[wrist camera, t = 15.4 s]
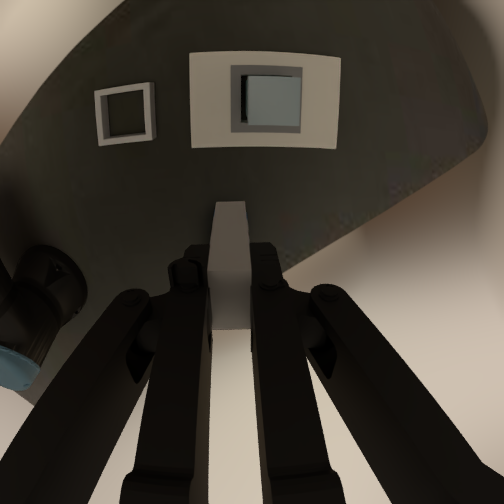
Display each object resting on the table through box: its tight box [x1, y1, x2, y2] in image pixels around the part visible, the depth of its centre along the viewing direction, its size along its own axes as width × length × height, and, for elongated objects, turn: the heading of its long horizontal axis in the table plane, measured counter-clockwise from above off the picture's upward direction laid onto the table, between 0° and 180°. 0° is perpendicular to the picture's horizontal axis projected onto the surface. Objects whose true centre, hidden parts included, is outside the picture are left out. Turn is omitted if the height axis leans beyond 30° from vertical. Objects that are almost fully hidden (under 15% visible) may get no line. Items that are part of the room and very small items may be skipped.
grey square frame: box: [95, 82, 157, 146], centre depth 35 cm, size 8×8×2 cm
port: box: [190, 51, 341, 149], centre depth 35 cm, size 18×12×4 cm, turn 90°
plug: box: [246, 76, 301, 126], centre depth 32 cm, size 5×5×12 cm
